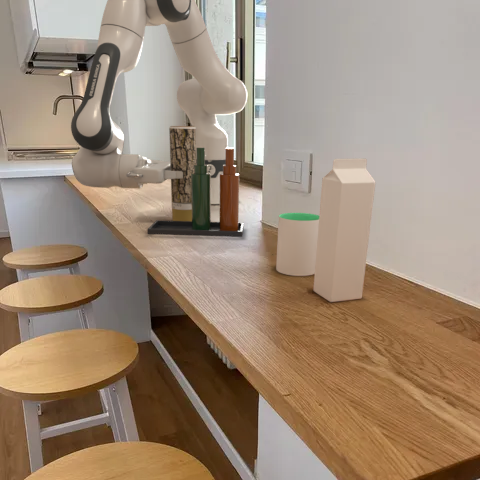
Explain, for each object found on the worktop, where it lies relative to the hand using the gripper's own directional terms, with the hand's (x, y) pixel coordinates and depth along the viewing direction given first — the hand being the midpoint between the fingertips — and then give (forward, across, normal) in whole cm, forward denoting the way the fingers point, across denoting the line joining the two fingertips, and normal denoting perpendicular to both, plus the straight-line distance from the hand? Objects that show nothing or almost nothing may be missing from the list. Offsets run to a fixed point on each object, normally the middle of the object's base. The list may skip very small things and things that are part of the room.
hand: (185, 172), depth 132 cm
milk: (+34, -57, +14) cm, 68 cm away
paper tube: (-1, 0, +14) cm, 14 cm away
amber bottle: (+12, -12, +13) cm, 22 cm away
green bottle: (+5, -12, +13) cm, 18 cm away
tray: (+4, -12, +13) cm, 19 cm away
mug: (+30, -42, +14) cm, 53 cm away
